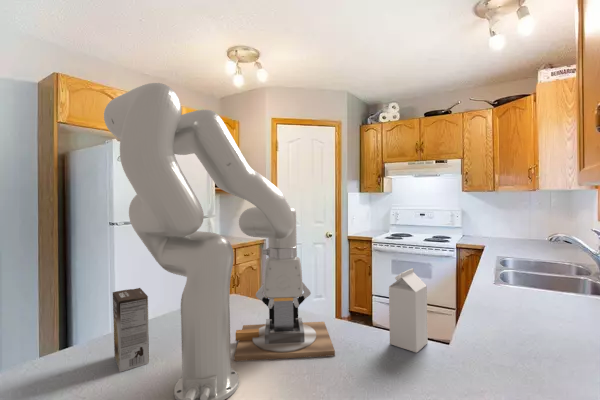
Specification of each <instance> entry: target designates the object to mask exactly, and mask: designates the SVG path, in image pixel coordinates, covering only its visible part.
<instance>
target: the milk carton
mask: <svg viewBox="0 0 600 400" xmlns="http://www.w3.org/2000/svg"><path fill="white" fill-rule="evenodd" d="M394 279H395V280H396V281H394V282H393V283H392V284H391V285H389V287H388V311H389V313H388V314H389V315H388V317H389V322H388V323H389V344H390V345H391V346H395V347H396V348H397V347H398V348H401V349H405V350H408V351H410V352H413V353H418V352H420V351H421V350H422V349H423V348H424V347H425V346H426V345H427V344H428V341H429V339H428V334H429V333H428V288H427V284H426V283H425V282H424V281H423V280H422V279H421V278H420V277H419V276H418V275H417V274H416V273H415V272H414V267H413V268H409V269H407V270H406V271H404V272H403V271H402V272H401V273H399V274H398V275H396V276H395V277H394Z"/></svg>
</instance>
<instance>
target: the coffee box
mask: <svg viewBox="0 0 600 400" xmlns="http://www.w3.org/2000/svg"><path fill="white" fill-rule="evenodd" d="M112 306H113V307H112V311H113V312H112V313H113V314H112V315H113V316H112V317H113V345H114V346H113V348H114V351H113V352H114V360H115V362H116V364H117V365H116V366H117V367H118V371H119V373H122V372H124V371H125V372H126V371H127V370H132V369H135V368H138V367H141V366H145V365H148V364H149V363H150V352H149V351H150V350H149V349H150V348H149V345H150V341H149V338H150V337H149V335H150V334H149V333H150V332H149V331H150V330H149V329H150V327H149V296H148V295H147V294H146V293H145V292H144V290H143V289H142V288H141V287H136V288H133V289H124V290H117V291H113V292H112Z"/></svg>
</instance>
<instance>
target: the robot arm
mask: <svg viewBox="0 0 600 400" xmlns="http://www.w3.org/2000/svg"><path fill="white" fill-rule="evenodd" d="M104 108H105V109H104V111H103V120H104V124H105V126H106V128H107V129H108V131H109V132H110V133H111V134H112V135H113V136H115V137H116V138H117V139H119V157H120V162H121V166H122V169H123V172H124V174H125V176H126V178H127V180H128V182H129V183H130V184H131V186H132V188H133V190H134V192H135V194H136V195H135V196H134V197H133V198H132V200H131V202H130V204H129V207H128V217H129V221H130V224H131V226H132V228H133V230H134V231H135V233H136V234H137V236H138V238H139V239H140V240H141V242H142V243H143V244H144V246H145V247H146V249H147V250H148V251H149V253H150V255H151V256H152V257H153V259H154V260H155V261H156V262H157V264H158V265H159V266H160V268H162V269H163V270H165V271H167V272H168V273H170V274H173V275H178V276H180V277H181V276H183V277H184V278H186V281H185V285H184V288H183V291H182V294H181V298H180V324H181V325H180V326H181V328H180V329H181V330H180V333H181V338H180V339H181V373H182V374H181V375H182V376H181V377H180V378H179V380H177V382H176V383H175V384H174V387H173V394H174V395H173V396H174V398H175V400H226V399H228V398H230V397H231V396H232V395H233V394H234V393H235V392H236V391H237V389H238V388H239V384H240V377H239V374H238V372H237V371H236V370H235V369H233V368H232V360H231V359H232V358H231V357H232V353H231V352H232V350H231V348H232V347H231V344H232V343H231V308H230V304H231V303H230V301H231V300H230V294H231V293H230V289H231V287H230V285H231V277H232V272H233V268H234V267H233V266H234V257H235V254H234V248H233V246H232V244H231V243H230V241H229V240H228V238H226V237H224V236H223V235H221V234H219V233H215V232H212V231H211V232H210V231H200V230H199V229H200V228H201V227H202V225H203V223H204V217H205V216H204V215H205V214H204V210H203V207H202V204H201V202H200V201H199V199H198V197H197V194H195V191H194V190H193V188H192V186H191V185H190V183H189V182H188V180H187V178H186V177H185V175H184V173H183V171H182V168H181V167H180V165H179V163H178V160H177V159H176V155H177V156H187V155H193V154H194V155H195V156H196V158H197V159H198V160H199V162H200V163H201V165H202V166H203V168H204V170H205V171H206V172H207V173H208V175H209V177H210V178H211V180H212V181H213V182H214V184H215V185H216V187H217V188H219V189H220V190H221V191H224V192H226V193H228V194H229V195H232V196H235V197H238V198H240V199H243V200H245V201H247V202H249V204H252V205H253V206H254V207H250V208H247V209H246V210H244V211H243V212H242V213H241V214H240V216H239V219H238V226H239V229H240V231H241V232H242V233H243V234H245V235H246V236H249V237H253V238H261V239H262V238H263V239H264V238H266V239H267V242H268V247H267V248H265V249H262V254H263V255H266V256H267V258H266V259H265V261H264V269H263V270H264V271H263V284H262V285H261V287H260V288H258V290H257V291H256V292H255V297H256V298H257V299H258V300H260V301H262V303H264V305H265V306H266V307H267V308H268V319H272V324H274V298H293V320H294V323H296V318H299V307H300V305H301V304H302V303H303V302H304V301H305V300H306V299H307V298H308V297H310V296H311V294H312V293H311V290H310V289H309V288H308V287H307V285H306V284H305V283H304V282H303V272H302V271H303V270H302V264H301V263H302V262H301V259H300V257H298V256H297V254H298V251H297V248H298V247H297V212H296V209H295V208H294V207H293V206H290V205H289V202H288V201H287V199H286V197H285V196H284V194H283V193H282V191H281V190H280V189H279V188H278V187H277V186H276V185H275V184H274V183H272V182H271V181H270V180H269V179H267V178H266V177H265V176H264V175H262V174H261V173H260V172H258V171H256V170H255V169H253V167H251V166H250V165H249V163H248V162H247V161H248V160H246V157H245V156H244V154H243V152H241V149H240V148H239V146H238V145H237V143H236V141H235V139H234V136H233V135H232V134H231V132H230V130H229V128H228V127H227V125H226V123H225V122H224V120H223V119H222V118H221V116H220V115H219V114H218V113H216V111H214V110H211V109H198V110H193V111H190V112H189V111H188V112H187V113H183V114H182V103H181V101H180V98H179V96H178V94H177V93H176V91H175V90H174V89H173V88H172V87H170V86H169V85H167V84H164V83H163V82H162V83H160V82H150V83H146V84H142V85H140V86H138V87H135V88H133V89H131V90H128V91H127V92H125V93H123V94H121V95H120V94H119V96H117V97H115V98H113V99H112V100H110V101H109V103H107V104H106V107H104ZM198 230H199V231H198Z"/></svg>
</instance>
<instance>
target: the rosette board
mask: <svg viewBox="0 0 600 400" xmlns="http://www.w3.org/2000/svg"><path fill="white" fill-rule="evenodd" d="M241 328H242V329H236V331H235V341H236V342H237V341H238V342H237V346H236V349H235V352H234V356H233V357H234V359H233V361H234V362H240V361H241V362H242V361H259V360H261V361H262V360H263V361H264V360H278V359H279V360H280V359H297V358H298V359H299V358H317V357H336V351H335V347H334V344H333V342H332V338H331V337H330V334H329V330H328V329H327V325H326V323H325V321H309V322H307V321H306V322H304V321H303V318H302V317H298V318H296V323H294V331H289V332H274V324H272V319H269V318H267V319H265V323H262V324H261V323H260V324H244V325H242V327H241Z"/></svg>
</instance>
